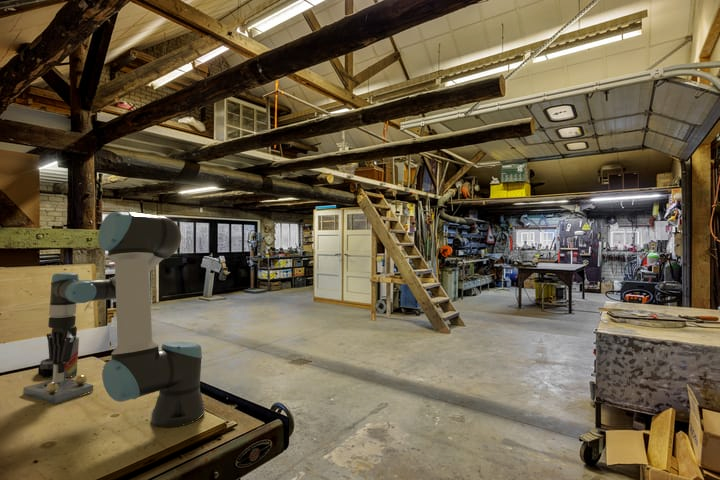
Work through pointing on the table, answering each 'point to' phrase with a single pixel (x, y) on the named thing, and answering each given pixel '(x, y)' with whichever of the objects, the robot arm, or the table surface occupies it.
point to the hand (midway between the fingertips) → (58, 381)
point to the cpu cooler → (46, 368)
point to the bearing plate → (64, 392)
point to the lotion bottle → (72, 357)
